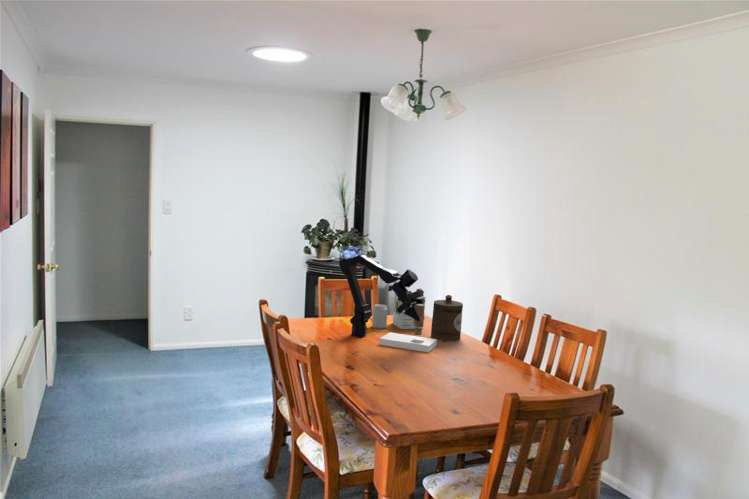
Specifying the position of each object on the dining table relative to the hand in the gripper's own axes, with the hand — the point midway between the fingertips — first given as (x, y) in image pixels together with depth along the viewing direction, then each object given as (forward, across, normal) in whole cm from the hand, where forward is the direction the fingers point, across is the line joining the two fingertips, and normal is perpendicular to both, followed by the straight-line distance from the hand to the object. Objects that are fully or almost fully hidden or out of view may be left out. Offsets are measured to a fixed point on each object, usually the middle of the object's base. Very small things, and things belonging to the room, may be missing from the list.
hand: (421, 320), depth 300 cm
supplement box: (-8, +36, +28) cm, 46 cm away
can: (-15, +22, +34) cm, 44 cm away
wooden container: (+10, +27, +9) cm, 31 cm away
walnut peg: (+4, 0, +6) cm, 7 cm away
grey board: (+5, +1, +14) cm, 15 cm away
